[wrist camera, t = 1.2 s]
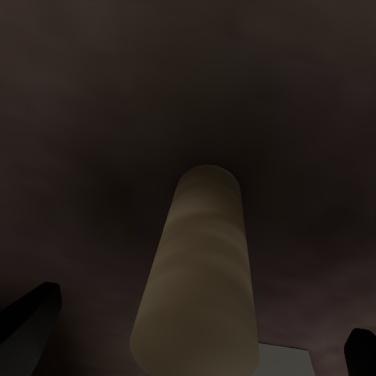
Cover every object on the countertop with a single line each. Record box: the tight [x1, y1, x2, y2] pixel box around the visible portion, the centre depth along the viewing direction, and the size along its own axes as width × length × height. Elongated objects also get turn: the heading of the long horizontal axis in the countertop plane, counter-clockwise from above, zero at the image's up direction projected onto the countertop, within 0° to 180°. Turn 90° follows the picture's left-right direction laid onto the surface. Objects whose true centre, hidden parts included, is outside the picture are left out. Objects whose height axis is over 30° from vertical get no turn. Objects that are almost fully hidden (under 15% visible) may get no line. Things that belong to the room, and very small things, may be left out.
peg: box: [129, 165, 260, 376], centre depth 12 cm, size 4×4×9 cm
